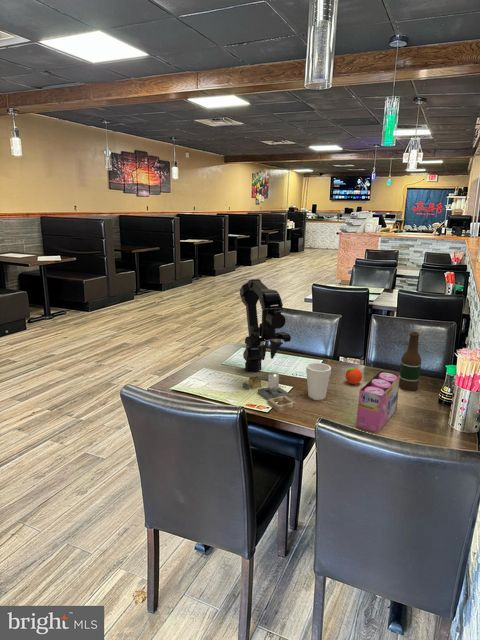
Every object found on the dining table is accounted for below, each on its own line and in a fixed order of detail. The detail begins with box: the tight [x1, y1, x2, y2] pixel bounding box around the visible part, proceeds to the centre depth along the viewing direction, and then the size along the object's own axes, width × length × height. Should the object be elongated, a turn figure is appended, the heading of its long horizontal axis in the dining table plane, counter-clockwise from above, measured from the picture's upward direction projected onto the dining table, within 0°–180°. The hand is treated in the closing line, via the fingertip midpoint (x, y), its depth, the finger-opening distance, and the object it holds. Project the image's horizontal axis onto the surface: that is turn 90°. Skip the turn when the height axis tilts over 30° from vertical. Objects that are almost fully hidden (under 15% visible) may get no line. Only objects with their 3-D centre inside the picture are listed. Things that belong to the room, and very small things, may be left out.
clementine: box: [344, 367, 363, 385], centre depth 183 cm, size 8×7×7 cm
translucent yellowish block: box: [248, 375, 262, 390], centre depth 176 cm, size 4×3×4 cm
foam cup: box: [305, 362, 332, 401], centre depth 167 cm, size 10×9×13 cm
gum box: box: [355, 370, 400, 434], centre depth 153 cm, size 24×8×14 cm, turn 145°
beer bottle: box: [399, 331, 422, 392], centre depth 177 cm, size 8×8×24 cm
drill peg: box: [267, 371, 280, 395], centre depth 167 cm, size 4×4×9 cm
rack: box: [266, 396, 297, 412], centre depth 160 cm, size 8×7×3 cm
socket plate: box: [242, 382, 291, 400], centre depth 171 cm, size 14×18×3 cm
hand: (267, 359), depth 176 cm, fingers open, 4 cm apart
